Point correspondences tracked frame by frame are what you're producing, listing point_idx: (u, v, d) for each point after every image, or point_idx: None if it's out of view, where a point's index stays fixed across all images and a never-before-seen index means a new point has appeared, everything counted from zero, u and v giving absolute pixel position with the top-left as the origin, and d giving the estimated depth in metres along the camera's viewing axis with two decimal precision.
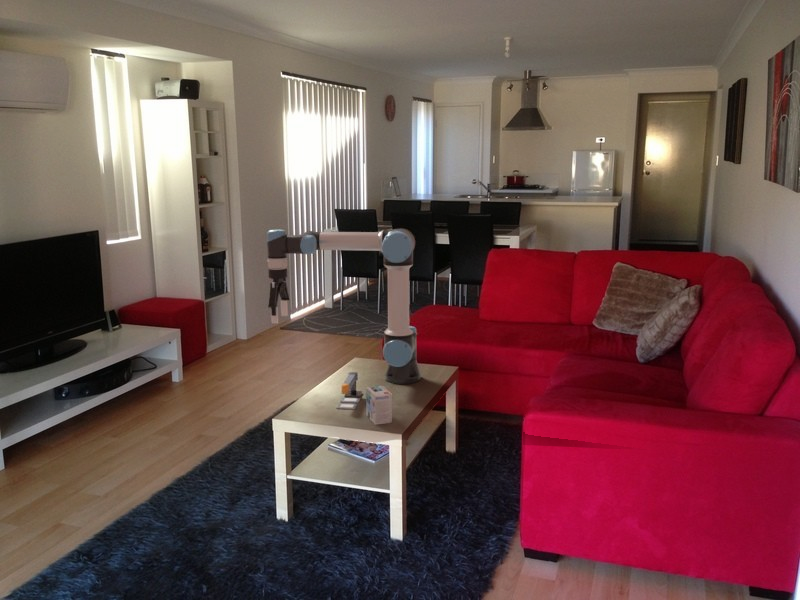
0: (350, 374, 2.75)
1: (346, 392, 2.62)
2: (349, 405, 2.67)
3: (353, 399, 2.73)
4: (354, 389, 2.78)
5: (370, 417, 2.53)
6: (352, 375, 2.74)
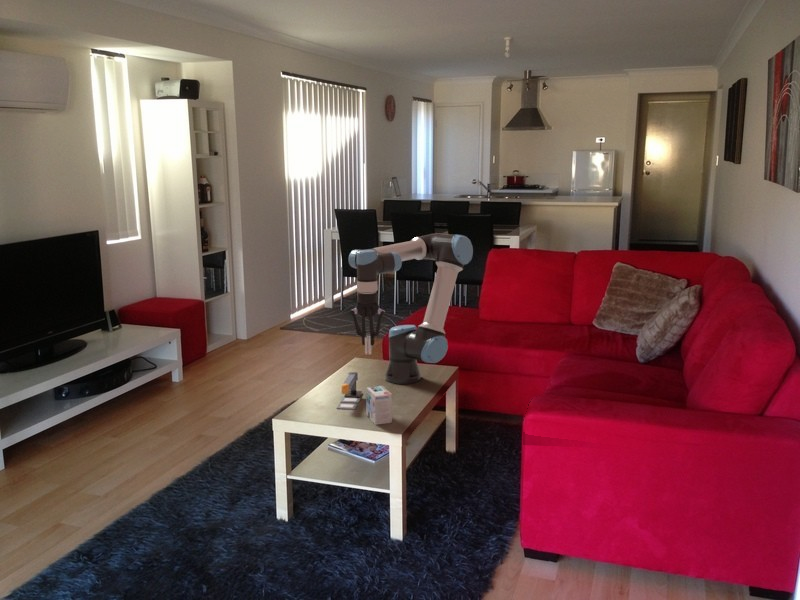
0: (350, 374, 2.75)
1: (346, 392, 2.62)
2: (349, 405, 2.67)
3: (353, 399, 2.73)
4: (354, 389, 2.78)
5: (370, 417, 2.53)
6: (352, 375, 2.74)
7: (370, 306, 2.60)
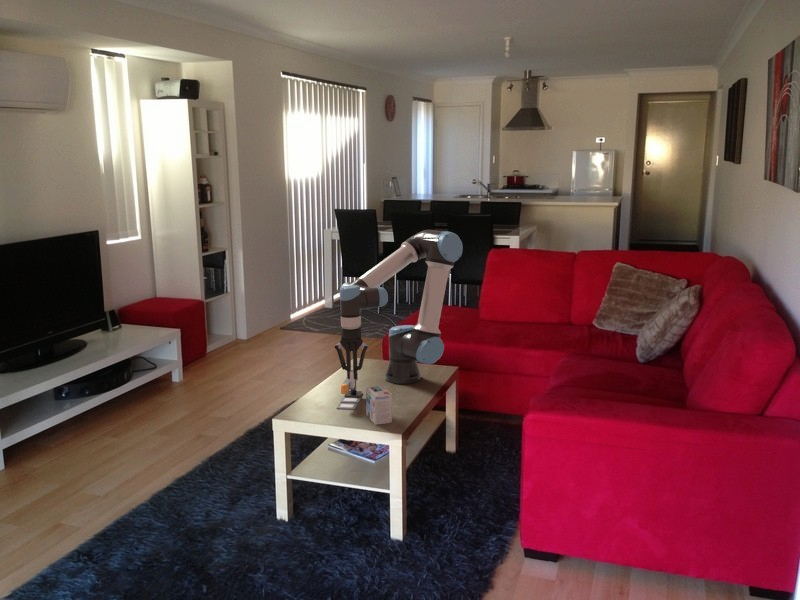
0: None
1: (345, 392, 2.62)
2: (349, 405, 2.67)
3: (353, 399, 2.73)
4: (354, 389, 2.78)
5: (370, 417, 2.53)
6: None
7: (354, 341, 2.63)
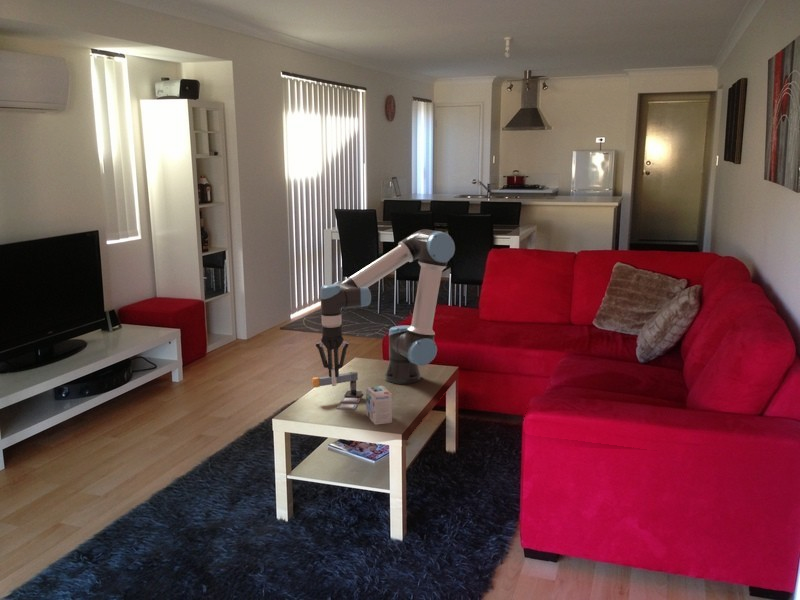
0: (346, 373, 2.77)
1: (314, 385, 2.70)
2: (349, 405, 2.67)
3: (353, 399, 2.73)
4: (354, 389, 2.78)
5: (370, 417, 2.53)
6: (346, 374, 2.76)
7: (335, 339, 2.67)
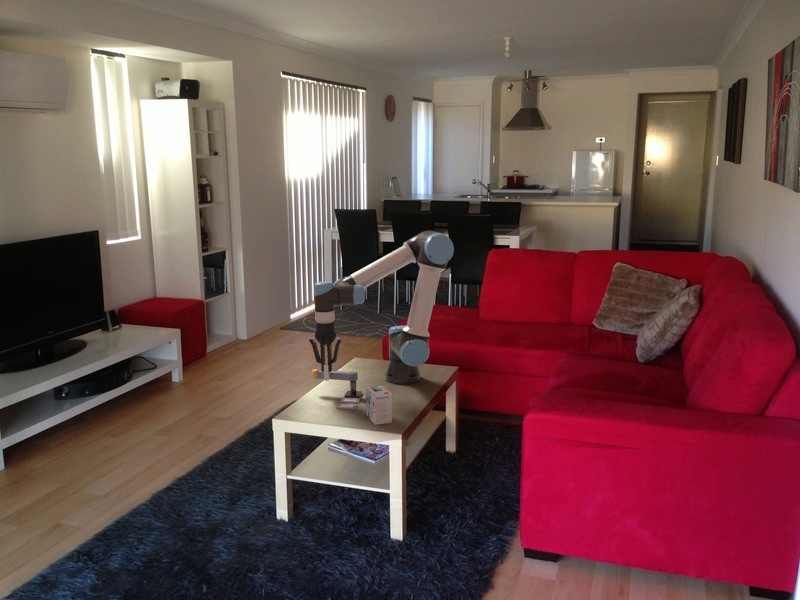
0: (347, 372, 2.78)
1: (312, 376, 2.81)
2: (349, 405, 2.67)
3: (353, 399, 2.73)
4: (354, 389, 2.78)
5: (370, 417, 2.53)
6: (345, 372, 2.78)
7: (328, 335, 2.73)
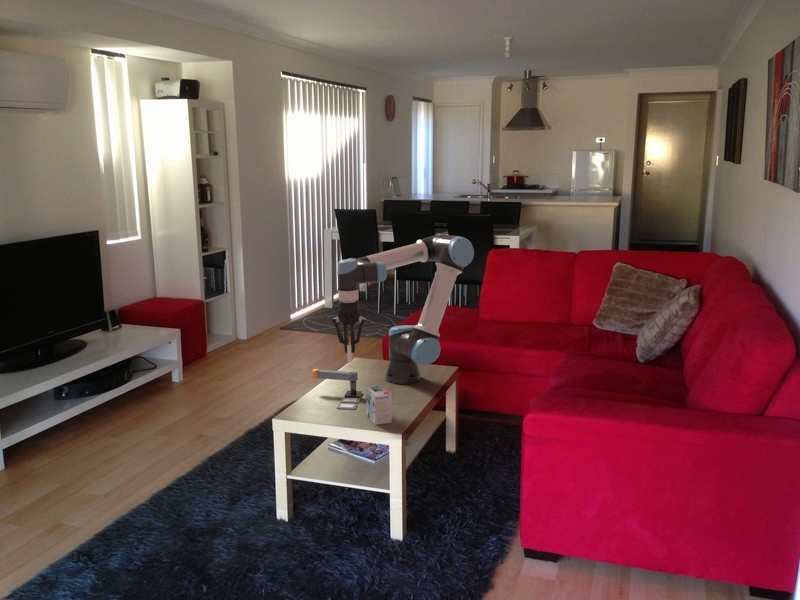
0: (347, 372, 2.78)
1: None
2: (349, 405, 2.67)
3: (353, 399, 2.73)
4: (354, 389, 2.78)
5: (370, 417, 2.53)
6: (345, 372, 2.78)
7: (351, 314, 2.65)
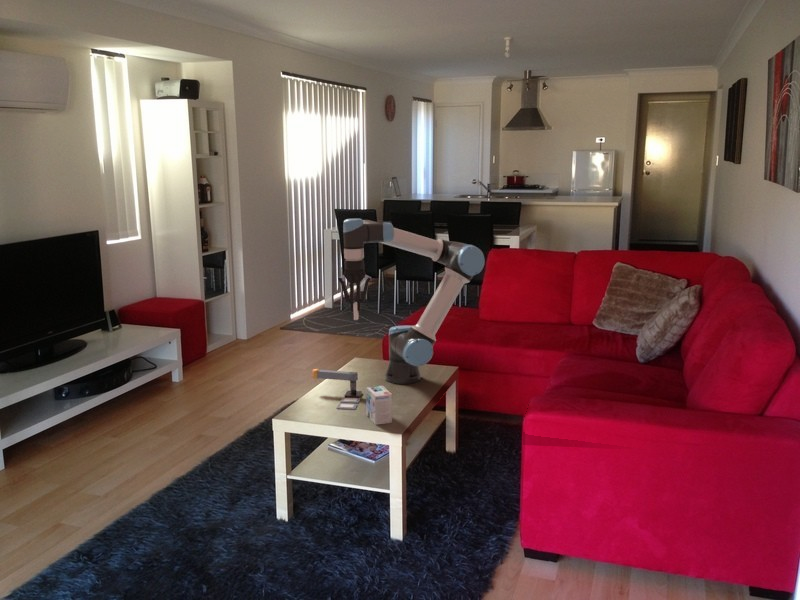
0: (347, 372, 2.78)
1: None
2: (349, 405, 2.67)
3: (353, 399, 2.73)
4: (354, 389, 2.78)
5: (370, 417, 2.53)
6: (345, 372, 2.78)
7: (357, 273, 2.69)
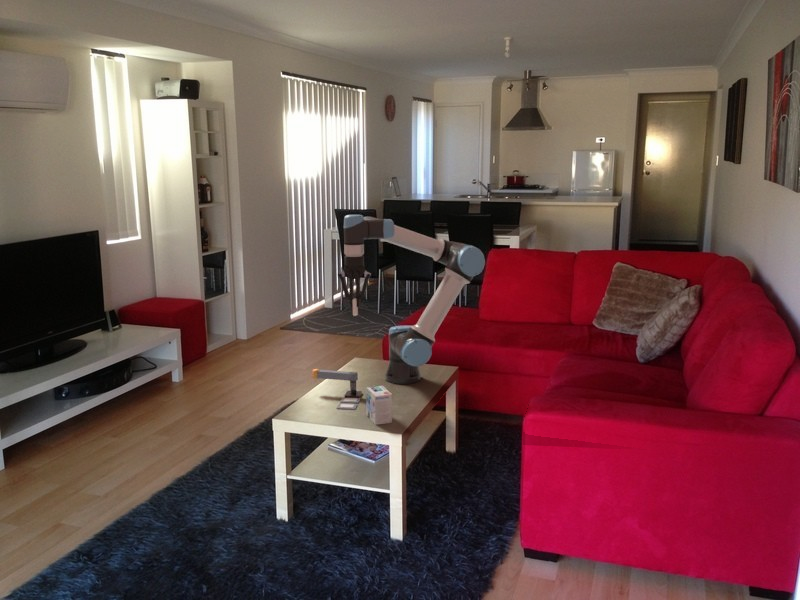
0: (347, 372, 2.78)
1: None
2: (349, 405, 2.67)
3: (353, 399, 2.73)
4: (354, 389, 2.78)
5: (370, 417, 2.53)
6: (345, 372, 2.78)
7: (357, 269, 2.70)
